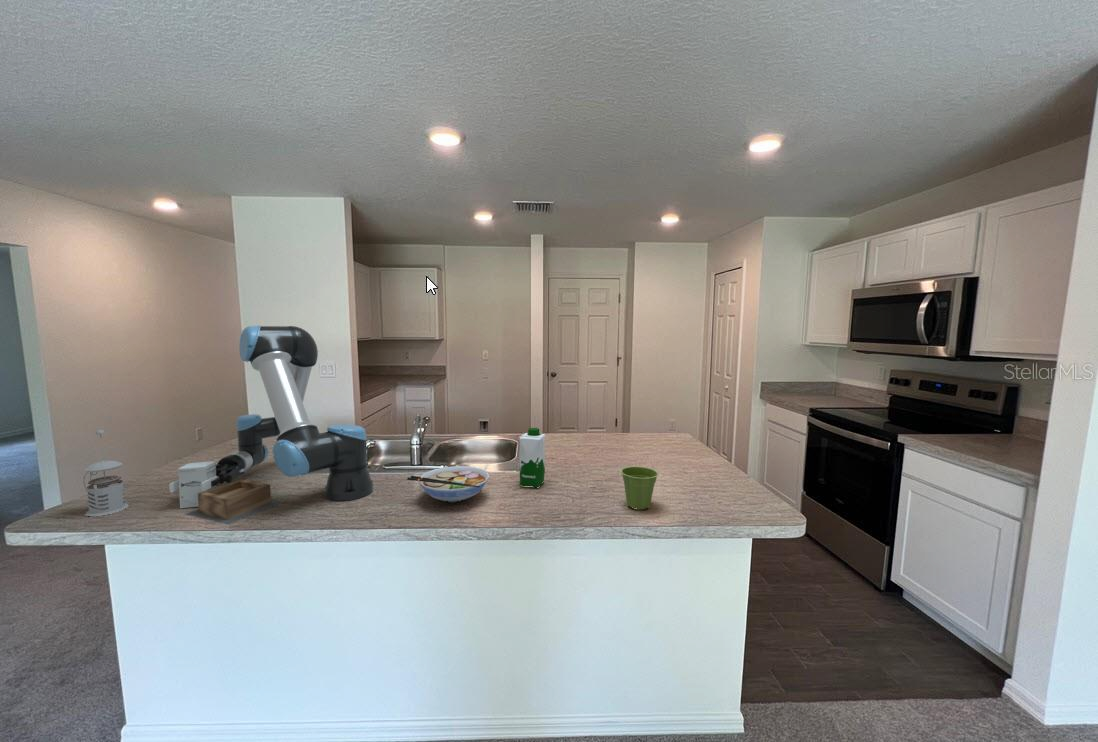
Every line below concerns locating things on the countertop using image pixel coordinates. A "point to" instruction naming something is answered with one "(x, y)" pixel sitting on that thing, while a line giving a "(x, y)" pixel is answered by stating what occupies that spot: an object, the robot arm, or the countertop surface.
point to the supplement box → (194, 481)
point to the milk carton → (532, 458)
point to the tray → (234, 499)
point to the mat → (226, 521)
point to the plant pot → (639, 485)
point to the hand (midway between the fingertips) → (186, 487)
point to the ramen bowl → (453, 482)
